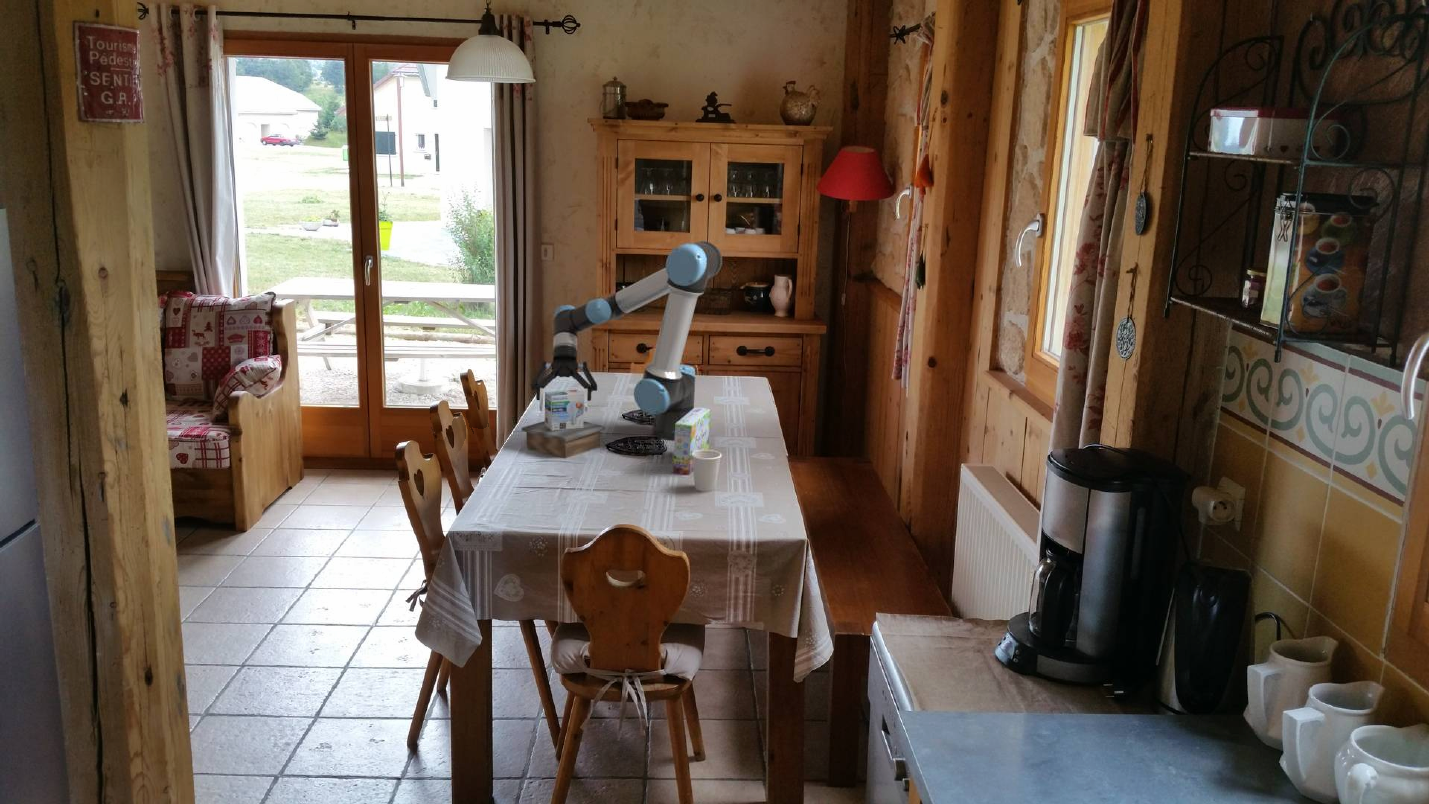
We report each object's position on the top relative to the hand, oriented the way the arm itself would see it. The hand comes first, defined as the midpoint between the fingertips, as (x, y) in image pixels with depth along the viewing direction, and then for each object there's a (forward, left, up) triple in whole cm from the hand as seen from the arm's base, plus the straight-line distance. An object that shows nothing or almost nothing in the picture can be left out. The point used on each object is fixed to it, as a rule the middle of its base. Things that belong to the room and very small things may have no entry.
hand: (563, 409), depth 328 cm
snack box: (-39, -13, -13) cm, 43 cm away
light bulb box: (+1, -1, -6) cm, 7 cm away
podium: (+1, -1, -13) cm, 13 cm away
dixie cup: (-55, +3, -13) cm, 56 cm away
